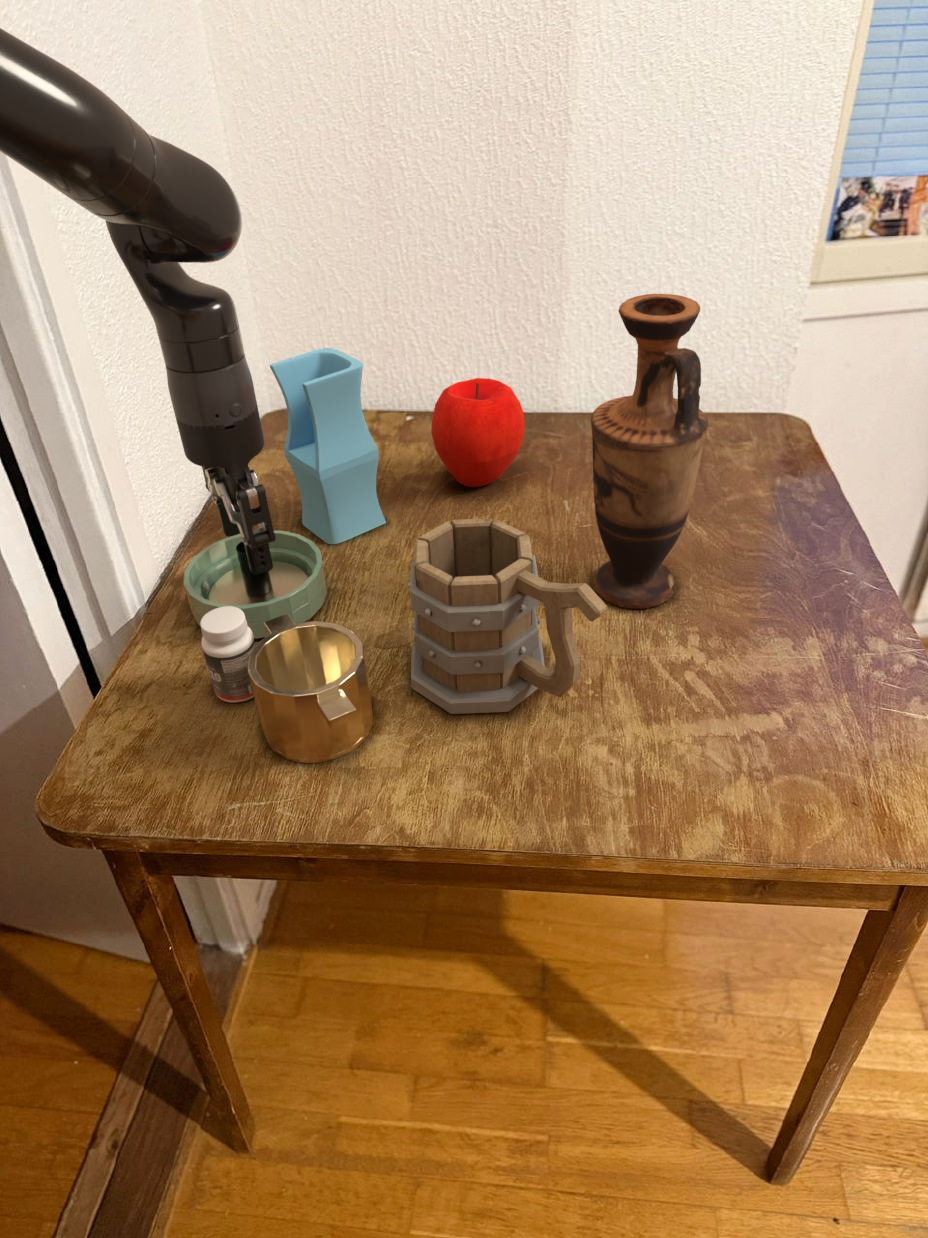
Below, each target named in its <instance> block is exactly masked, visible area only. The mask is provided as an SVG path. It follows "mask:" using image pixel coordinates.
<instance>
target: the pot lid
mask: <svg viewBox="0 0 928 1238" xmlns="http://www.w3.org/2000/svg"><path fill="white" fill-rule="evenodd" d="M236 552H237V556H238V560H239V565H240V567H238V568H235V569H233V570H231V571H229V572H228V573H226V574H224V575H223V576H222V577H220V578H219V579H218V580H217V581H216V582H215V583H214V585H213V586H212V588H211V590H210V592H209V601H212V602H216V603H220V604H224V605H248V604H254V603H261V602H266V601H269V600H272V599H275V598H278V597H281V596H283V595H286V594H288V593H289V592H291V591H293V590H294V589H296V588H298V587H299V586H301V585H302V584H303V583H304V582H305V581H306V580H307V579H308V577H307V575H306V574H305V572H304V571H303V570H301V569H300V568H299V567H297V566H295V565H292V564H289V563H285V562H279V561H272V563H273V568H272V569H271V570H270V571H267V572H264V573H261V574H258V575H254V574H253V573H252V572H251V570H250V568H249V563H248V559H247V554H246V550H245V546H244V543H243V541H242V542H240V543H239V544H238V545H237V546H236Z"/></svg>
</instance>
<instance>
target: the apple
mask: <svg viewBox="0 0 928 1238" xmlns="http://www.w3.org/2000/svg"><path fill="white" fill-rule="evenodd" d="M430 426H431V427H430V428H431V429H430V430H431V431H430V434H431V437H432V441H433V445H434V448H435V451H436V453H437V455H438V457H439V459H440V460H441V462H442V464H443V465H444V467H445V468H446V470H447V471H448V472H449V473H450V475H451V476H453V478H454V479H455V480H456V481H457V483H459V484H461V485H463V486H465V487H468V488H479V487H483V486H487V485H490V484H492V483H494V482H496V481H497V480H499V479H500V478H501V477H502V476H503V475H504V473H505V472H506V471H507V469H508V468H509V467H510V466H511V464H512V463H513V462H514V461H515V459H516V457H517V455H518V453H519V450H520V449H521V446H522V444H523V439H524V434H525V413H524V410H523V407H522V403H521V401H520V400H519V398H518V397H517V395H516V393H515V392H514V390H513V389H512V387H510V385H507V384H506V383H503V382H502V381H500V380H497V379H493V378H492V379H491V378H485V377H484V378H483V377H476V378H472V379H468V380H461V381H458V382H455V383H452V384H451V385H449V386H447V387H446V388H444V389H443V390H442V392H441V394H440V395H439V397H438V399H437V400H436V402H435V404H434V408H433V413H432V418H431V425H430Z"/></svg>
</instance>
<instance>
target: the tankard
mask: <svg viewBox="0 0 928 1238" xmlns="http://www.w3.org/2000/svg"><path fill="white" fill-rule="evenodd" d="M414 544H415V545H414V557H413V558H414V559H412V560H411V561H410V562H411V564H410V579H409V580H410V581H409V582H408V583H407V588H408V590H409V598H410V607H411V608H410V609H411V611H412V612H414V623H412V625H411V629H412V631H413V638H414V639H413V640H414V641H412V643H411V664H410V684H411V689H412V690H413V691H415V692H417V693H418V694H420V695H421V696H423V697H424V698H426V699H427V700H429V701H431V702H432V703H433V704H435V705H437V707H439V708H441V709H442V710H444V711H446V712H447V713H449V714H451V715H460V714H463V715H464V714H485V713H508V712H510V711H511V710H513V709H514V708H515V707H517V706H518V705H519V704H520V703H522V701H524V700H526V699H527V698H528V697H529V696H531V695H532V694H533V693H534V692H536V691H537V690H541V691H543V692H545V693H548V694H549V695H553V696H555V697H557V698H562V697H564V695H566V694H567V693H569V691H570V690H571V688H573V686H575V684H576V683H577V682H578V681H579V680H580V675H581V665H582V659H581V655H580V652H579V649H578V644H577V641H576V637H575V634H574V630H573V617H572V608H578V610H579V611H580V612H581V613H582V614H583V615H584V617H585V618H586V619H587V620H588V621H589V622H594V621H596V620H597V619H598V618H599V617H601V616H603V614H604V613H605V612H606V611H607V610H608V605H607V604H606V603H605V601H603V600H602V598H601V597H600V596H599V595H598V593H596V592H595V591H594V590H593V589H592V588H591V586H590V585H589V584H588V583H586V582H578V583H577V582H576V583H563V582H551V581H550V582H549V581H548V580H545V579H544V578H541V576H539V573H538V567H537V560H536V555H534V554H533V552H532V544H531V537H530V535H528V533H526V532H524V531H522V530H520V529H518V528H516V527H514V526H511V525H509V524H507V523H505V522H503V521H501V520H499V519H496V518H494V519H493V518H492V517H491V518H468V519H451V520H450V521H449V520H447V521H446V522H444V523H442V524H440V525H439V526H437V527H435V528H433V529H432V530H430V531H428V532H426V533H424V534H423V535H421V536H419V537H418V538H417V539H415V542H414ZM540 602H541V603H543V604H544V608H545V623H546V625H545V626H546V631H547V635H548V638H549V642H550V645H551V648H552V653H553V655H554V658H555V660H554V661H555V662H554V670H553V669H549V668H548V667H546V665H545V664H546V663H545V657H544V656H545V655H544V649H543V643H542V636H540V635H539V633H540V629H539V625H540V624H541V619H540V618H539V617H538V614H537V607H538V606H540Z"/></svg>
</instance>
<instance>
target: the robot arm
mask: <svg viewBox="0 0 928 1238" xmlns="http://www.w3.org/2000/svg"><path fill="white" fill-rule="evenodd" d="M0 152H1V153H2V154H4V155H5V156H7V157H8V158H10V159H11V160H12V161H14V162H16V163H18V164H19V165H20V166H22V167H23V168H25V169H26V170H28V171H29V172H31V173H33V174H34V175H35V176H37V178H40V179H41V180H43V181H44V182H46V183H47V184H48V185H50V186H52V187H53V188H54V189H56V190H57V191H58V192H60V193H62V195H65V196H66V197H67V198H68V199H70V200H72V201H73V202H74V203H76V204H77V205H79V206H81V207H82V208H84V209H85V210H87V211H88V212H90V214H92V215H94V216H96V217H98V218H100V219H102V220H104V221H105V224H106V228H107V231H108V234H109V238H110V241H111V242H112V244H113V246H114V249H115V251H116V253H117V255H118V256H119V259H120V260H121V261H122V264H123V266H124V267H125V269H126V271H127V272H128V274H129V276H130V278H131V279H132V281H133V283H134V286H135V287H136V289H137V291H138V293H139V295H140V297H141V299H142V300H143V302H144V304H145V306H146V308H147V309H148V311H149V313H150V315H151V317H152V319H153V322H154V325H155V329H156V334H157V337H158V341H159V346H160V349H161V353H162V357H163V361H164V365H165V372H166V380H167V389H168V392H169V398H170V401H171V405H172V409H173V413H174V416H175V417H174V418H175V421H176V424H177V428H178V433H179V436H180V440H181V445H182V448H183V452H184V456H185V457H186V459H187V460H188V461H189V462H190V463H192V464H193V465H196V466H198V467H201V469H202V474H203V479H204V482H205V484H204V485H205V488H206V490H207V491H208V492H209V493H210V495H211V500H212V502H213V503H214V504H215V505H216V507H217V508H216V509H217V512H218V516H219V520H220V525H221V528H222V532H223V534H224V535H225V536H226V537H227V538H228V537H231V536H234V535H238V534H241V536H242V541H243V543H244V546H245V550H246V554H247V559H248V563H249V568H250V570H251V572H252V573H253V574H254V575H258V574H261V573H264V572H267V571H270V570H271V569H272V568H273V563H272V558H271V554H270V549H269V544H268V543H270V542H274V541H275V533H274V526H273V520H272V517H271V513H270V508H269V503H268V499H267V494H266V493H267V490H266V488H265V487H264V485H263V484H261V483H260V484H259V479H258V477H257V473H256V471H255V469H254V468H250V467H249V463H250V462H251V461H252V460H253V459H254V458H255V457H257V456H258V455H259V454H260V453H261V452H262V450H263V449H264V446H265V438H264V433H263V428H262V423H261V422H262V421H261V417H260V412H259V406H258V401H257V397H256V392H255V387H254V381H253V376H252V373H251V369H250V366H249V365H248V362H247V358H246V354H245V349H244V344H243V339H242V333H241V328H240V324H239V318H238V313H237V308H236V305H235V301H234V300H233V297H232V295H231V294H230V293H229V292H228V291H227V290H225V289H223V288H221V287H218V286H215V285H213V284H209V283H206V282H203V281H199V280H197V279H195V278H193V277H191V276H190V275H189V274H188V273H187V272H186V271H185V270H184V268H183V266H182V265H181V263H188V264H189V263H191V264H192V263H193V264H194V263H195V264H207V263H216V262H219V261H222V260H223V259H225V258H226V257H228V256H229V255H230V254H231V253H232V252H233V251H234V250H235V249H236V247H237V246H238V243H239V241H240V238H241V234H242V227H243V219H242V213H241V212H242V211H241V207H240V204H239V202H238V199H237V196H236V194H235V192H234V191H233V188H232V187H231V185H230V184H229V182H228V181H227V180H226V178H225V177H224V176H223V175H222V174H221V173H220V172H219V171H218V170H217V169H216V168H215V167H213V166H212V165H211V164H209V163H208V162H206V161H204V160H203V159H201V158H200V157H197V156H195V155H193V154H192V153H190V152H188V151H186V150H184V149H182V148H180V147H178V146H176V145H175V144H172V143H170V142H168V141H166V140H163V139H160V138H159V137H155V136H153V135H152V134H149V133H148V132H147V131H146V130H145V129H144V128H143V127H142V126H141V125H140V124H139V123H138V122H137V121H136V120H134V118H132V116H130V115H129V114H128V113H127V112H126V111H125V110H124V109H123V108H122V107H120V106H119V104H117V102H115V101H114V100H113V99H112V98H111V97H110V96H108V95H107V93H105V92H104V91H102V90H101V89H99V88H98V87H97V86H96V85H94V84H93V83H91V82H90V81H89V80H87V79H86V78H84V77H83V76H82V75H80V74H78V73H77V72H75V71H74V70H73V69H71V68H69V67H68V66H66V65H65V64H63V63H61V62H60V61H58V60H56V59H55V58H52V57H51V56H49V55H47V54H46V53H44V52H42V51H40V50H39V49H37V48H36V47H33V46H32V45H30V44H28V43H27V42H25V41H23V40H22V39H20V38H18V37H17V36H15V35H13V34H11V33H9V32H8V31H6V30H4V29H3V28H1V27H0ZM256 525H258V528H256V529H253V527H254V526H256Z"/></svg>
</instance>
